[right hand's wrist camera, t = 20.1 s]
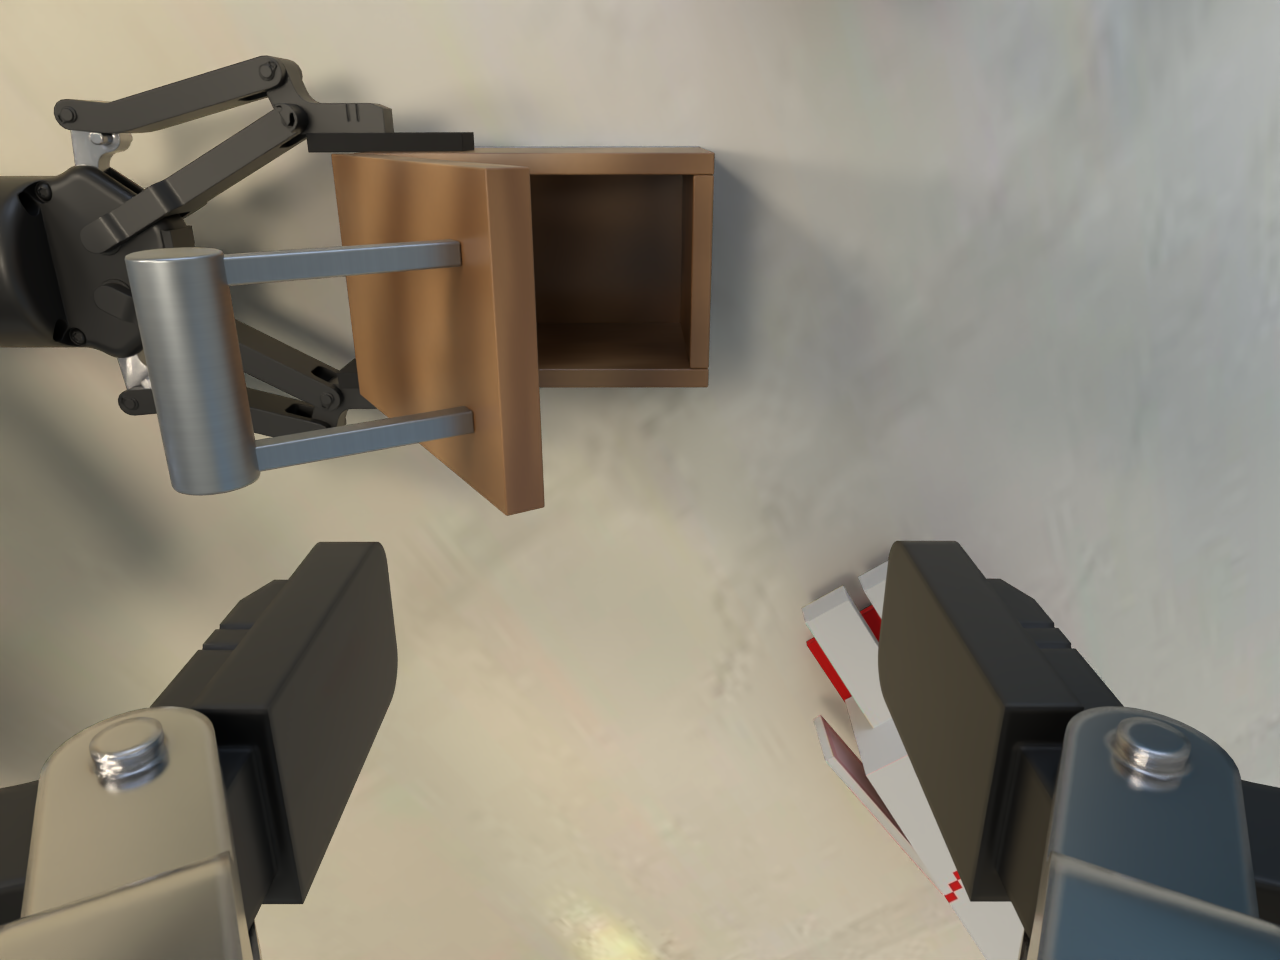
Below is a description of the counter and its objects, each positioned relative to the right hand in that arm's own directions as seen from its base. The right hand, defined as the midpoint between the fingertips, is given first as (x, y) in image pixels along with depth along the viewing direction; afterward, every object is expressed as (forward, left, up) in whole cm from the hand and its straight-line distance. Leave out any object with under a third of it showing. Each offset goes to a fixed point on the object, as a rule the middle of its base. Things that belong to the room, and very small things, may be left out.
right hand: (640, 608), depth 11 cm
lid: (-7, 0, -21) cm, 22 cm away
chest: (-4, 0, -38) cm, 38 cm away
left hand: (-7, 0, -31) cm, 32 cm away
